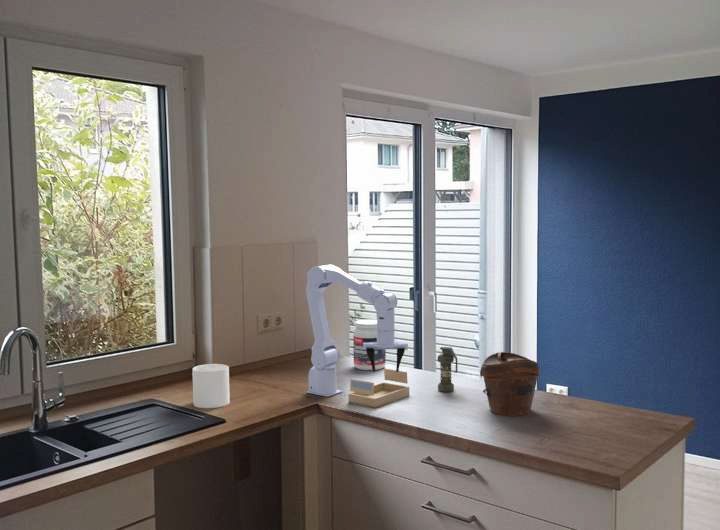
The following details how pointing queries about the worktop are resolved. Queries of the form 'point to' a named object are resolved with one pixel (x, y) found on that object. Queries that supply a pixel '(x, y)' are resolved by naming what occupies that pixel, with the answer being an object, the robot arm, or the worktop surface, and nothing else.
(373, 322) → the supplement tub
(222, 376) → the white cylinder
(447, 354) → the grenade
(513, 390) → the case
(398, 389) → the light wood shallow tray
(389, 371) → the far flap
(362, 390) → the near flap
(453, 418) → the worktop surface
